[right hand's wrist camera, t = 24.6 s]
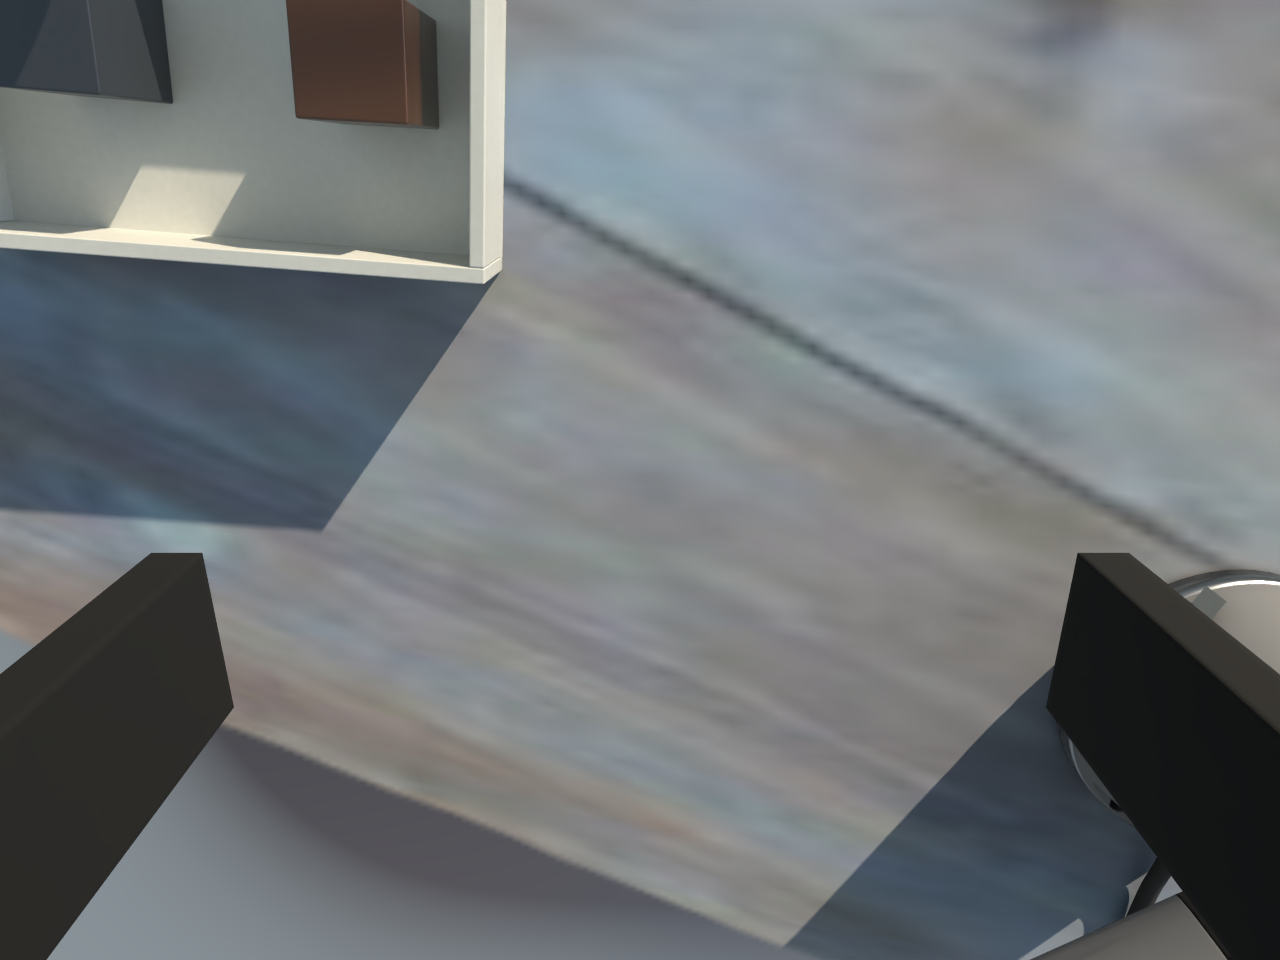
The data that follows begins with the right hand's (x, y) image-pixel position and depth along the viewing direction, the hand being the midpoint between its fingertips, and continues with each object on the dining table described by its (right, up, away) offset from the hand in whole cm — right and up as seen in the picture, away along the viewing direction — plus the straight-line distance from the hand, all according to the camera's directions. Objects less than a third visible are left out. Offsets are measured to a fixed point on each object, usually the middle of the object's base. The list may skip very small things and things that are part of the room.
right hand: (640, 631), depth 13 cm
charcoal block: (-21, +20, +21) cm, 35 cm away
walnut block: (-10, +19, +21) cm, 30 cm away
